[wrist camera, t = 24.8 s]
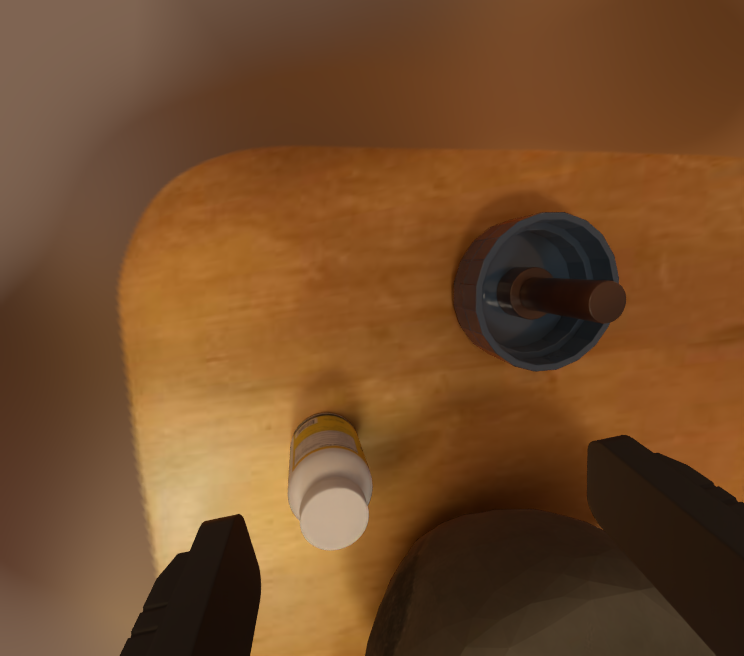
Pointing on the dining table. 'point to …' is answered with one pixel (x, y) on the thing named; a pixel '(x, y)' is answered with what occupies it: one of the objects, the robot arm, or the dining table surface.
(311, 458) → the pill bottle
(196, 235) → the dining table surface
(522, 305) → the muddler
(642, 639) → the pot
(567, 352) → the bowl
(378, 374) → the dining table surface
